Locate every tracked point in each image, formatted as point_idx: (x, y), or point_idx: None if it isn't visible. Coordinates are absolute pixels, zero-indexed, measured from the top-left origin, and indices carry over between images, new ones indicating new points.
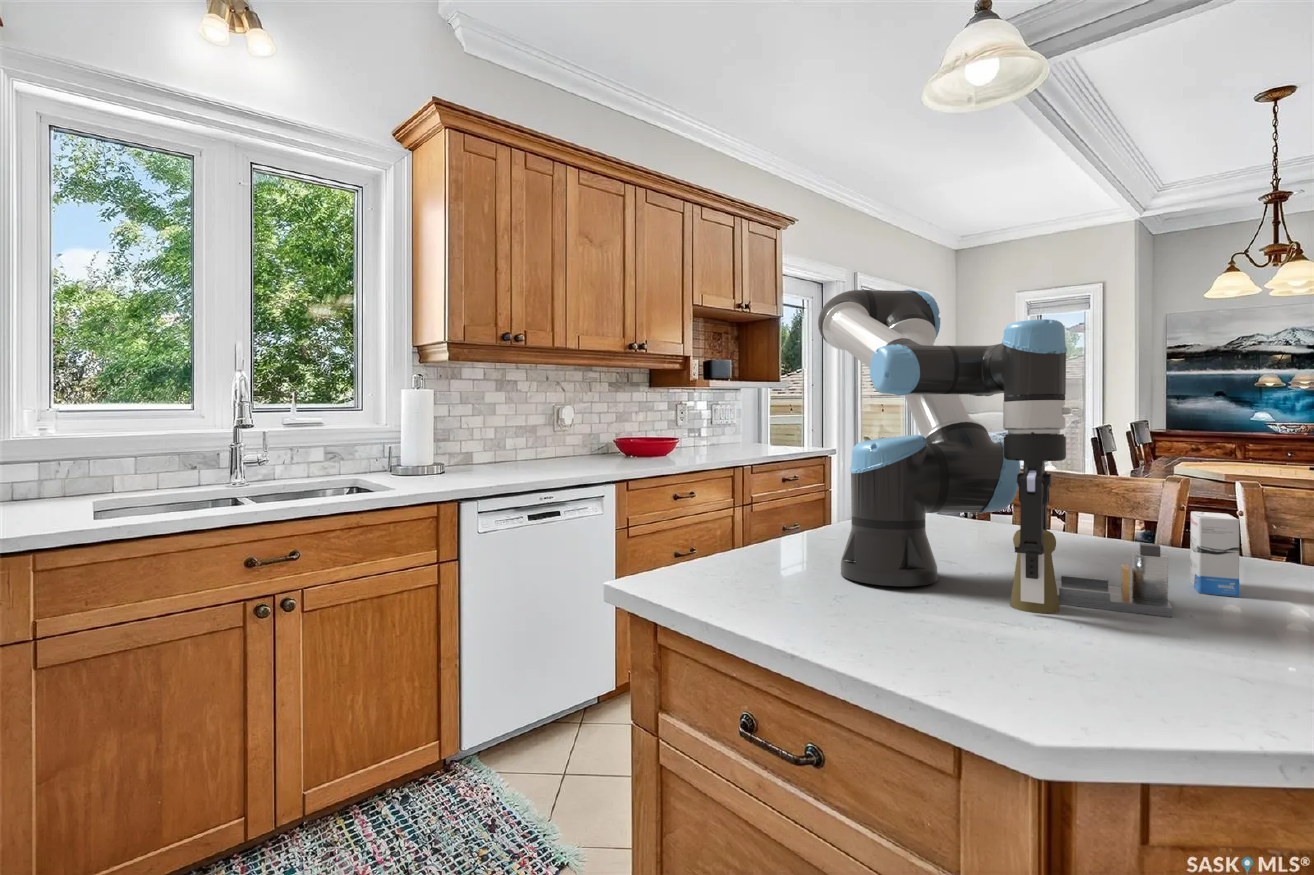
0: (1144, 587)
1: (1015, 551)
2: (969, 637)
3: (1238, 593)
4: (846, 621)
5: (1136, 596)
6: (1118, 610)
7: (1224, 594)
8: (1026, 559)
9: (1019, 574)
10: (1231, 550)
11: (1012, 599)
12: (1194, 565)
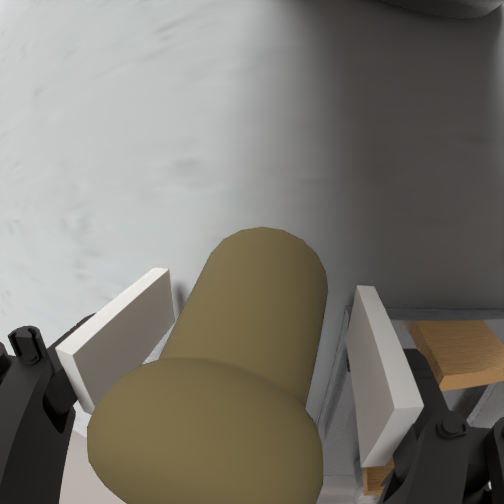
0: (358, 478)
1: (24, 328)
2: (7, 186)
3: None
4: (17, 26)
5: None
6: (317, 425)
7: None
8: (51, 347)
9: (193, 298)
10: None
11: (235, 240)
12: (489, 484)
